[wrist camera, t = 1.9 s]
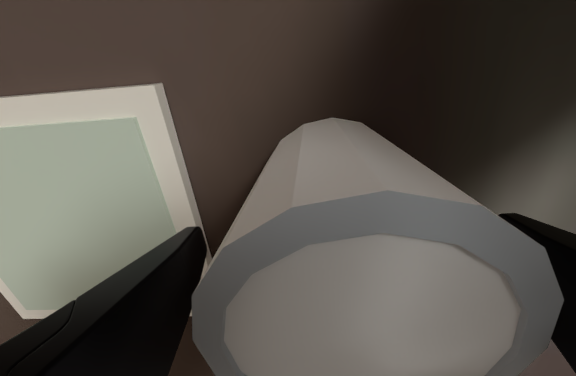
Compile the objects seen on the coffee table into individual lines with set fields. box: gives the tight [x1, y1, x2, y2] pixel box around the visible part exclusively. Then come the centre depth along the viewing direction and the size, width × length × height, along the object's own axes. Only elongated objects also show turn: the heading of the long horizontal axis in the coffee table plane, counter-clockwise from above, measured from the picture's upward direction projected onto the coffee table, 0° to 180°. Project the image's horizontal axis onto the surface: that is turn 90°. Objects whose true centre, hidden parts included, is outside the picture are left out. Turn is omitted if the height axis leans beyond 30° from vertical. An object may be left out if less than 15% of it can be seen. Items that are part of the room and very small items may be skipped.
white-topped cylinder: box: [192, 118, 564, 376], centre depth 8 cm, size 7×7×7 cm
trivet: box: [0, 83, 212, 319], centre depth 12 cm, size 12×12×1 cm
